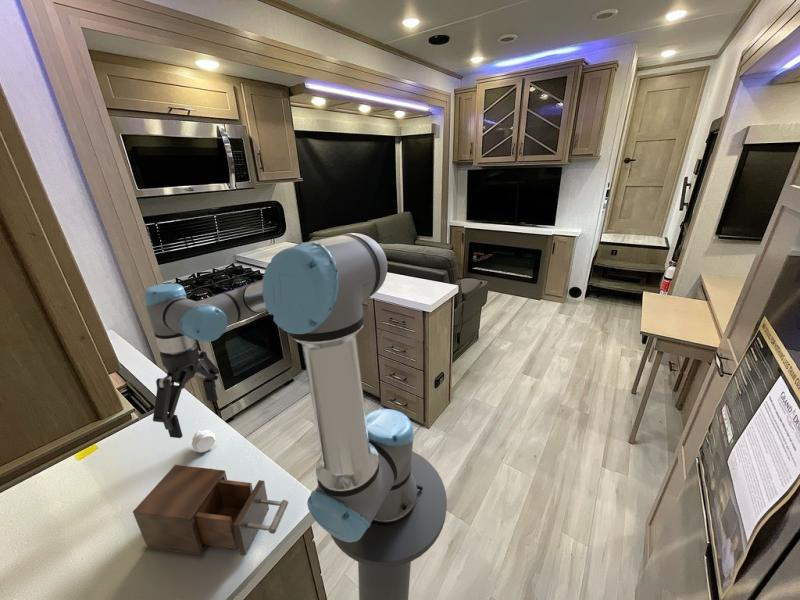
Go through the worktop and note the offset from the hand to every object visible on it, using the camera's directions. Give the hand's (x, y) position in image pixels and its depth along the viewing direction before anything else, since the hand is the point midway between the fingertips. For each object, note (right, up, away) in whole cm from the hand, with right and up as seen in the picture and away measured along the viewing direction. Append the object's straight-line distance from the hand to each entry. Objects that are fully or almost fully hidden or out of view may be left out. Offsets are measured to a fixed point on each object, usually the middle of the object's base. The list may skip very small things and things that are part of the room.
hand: (195, 417), depth 84 cm
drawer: (+22, -17, -17) cm, 33 cm away
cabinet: (+10, -17, -16) cm, 25 cm away
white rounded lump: (0, -9, +4) cm, 10 cm away
